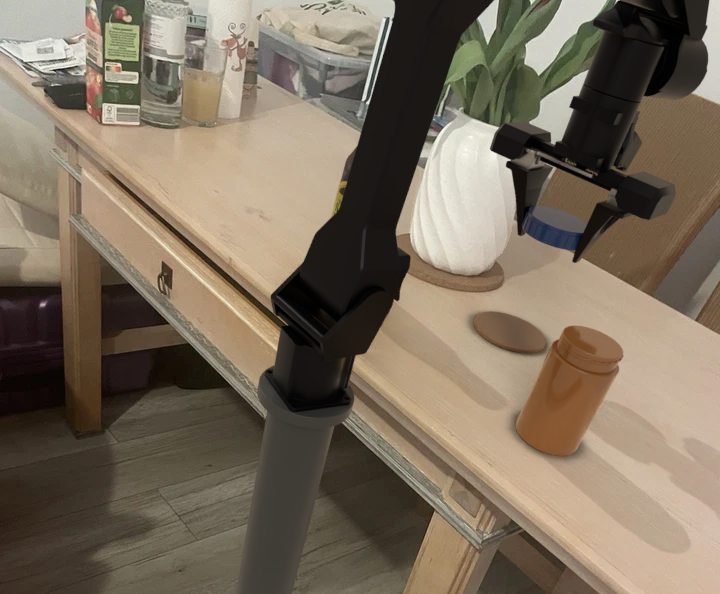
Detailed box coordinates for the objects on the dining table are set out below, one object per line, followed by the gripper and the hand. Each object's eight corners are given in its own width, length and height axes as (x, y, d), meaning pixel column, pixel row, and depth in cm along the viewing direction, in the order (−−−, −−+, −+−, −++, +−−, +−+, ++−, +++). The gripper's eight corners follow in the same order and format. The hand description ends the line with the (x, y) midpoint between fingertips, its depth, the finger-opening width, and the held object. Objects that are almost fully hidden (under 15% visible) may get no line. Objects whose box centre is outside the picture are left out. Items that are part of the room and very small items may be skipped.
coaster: (504, 356, 79) (505, 353, 79) (459, 316, 84) (460, 313, 84) (559, 350, 84) (560, 347, 83) (513, 312, 89) (514, 309, 89)
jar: (544, 460, 65) (593, 364, 58) (502, 420, 69) (544, 325, 62) (590, 450, 68) (642, 357, 61) (548, 411, 72) (592, 320, 65)
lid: (554, 223, 79) (561, 206, 78) (596, 250, 75) (604, 233, 74) (508, 221, 76) (515, 204, 74) (550, 250, 71) (558, 233, 70)
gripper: (727, 123, 68) (650, 272, 78) (564, 63, 75) (512, 206, 85) (692, 128, 61) (612, 291, 71) (515, 60, 68) (464, 217, 78)
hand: (547, 248), depth 76 cm, fingers closed on lid, 7 cm apart
